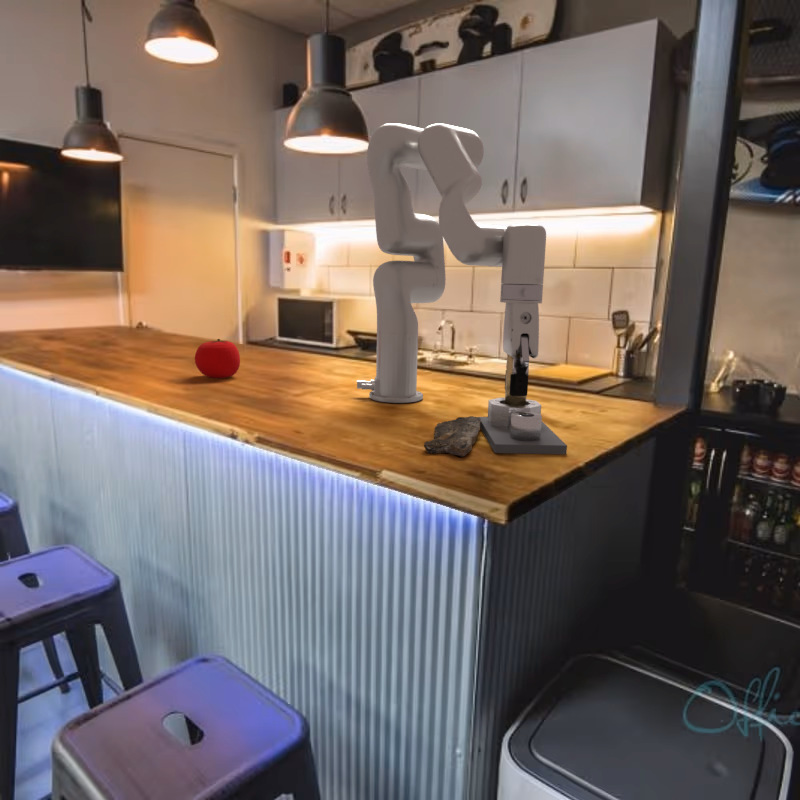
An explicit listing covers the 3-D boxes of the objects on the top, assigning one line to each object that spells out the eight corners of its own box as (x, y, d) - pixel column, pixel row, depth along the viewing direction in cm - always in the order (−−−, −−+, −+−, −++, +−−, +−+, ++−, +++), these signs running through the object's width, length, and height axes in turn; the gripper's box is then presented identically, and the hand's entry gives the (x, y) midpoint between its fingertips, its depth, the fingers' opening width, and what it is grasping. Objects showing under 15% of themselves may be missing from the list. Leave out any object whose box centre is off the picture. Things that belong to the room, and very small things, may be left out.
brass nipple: (528, 406, 115) (531, 352, 113) (506, 406, 115) (509, 352, 113) (523, 402, 119) (526, 349, 117) (502, 402, 119) (505, 349, 117)
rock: (442, 424, 121) (442, 411, 121) (482, 427, 120) (483, 414, 119) (423, 457, 101) (423, 442, 101) (470, 462, 100) (471, 446, 99)
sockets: (501, 440, 105) (502, 417, 104) (485, 417, 122) (486, 396, 121) (555, 441, 105) (557, 418, 104) (532, 417, 122) (533, 397, 121)
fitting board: (494, 453, 103) (495, 444, 102) (477, 424, 122) (478, 416, 122) (566, 454, 103) (567, 445, 103) (538, 425, 123) (538, 417, 122)
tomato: (234, 381, 162) (232, 341, 160) (189, 380, 162) (188, 340, 160) (245, 374, 174) (244, 337, 172) (204, 373, 174) (203, 336, 172)
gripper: (553, 296, 105) (546, 402, 108) (531, 293, 121) (525, 385, 125) (509, 295, 104) (503, 401, 108) (493, 293, 121) (488, 385, 124)
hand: (515, 392), depth 116 cm, fingers closed on brass nipple, 4 cm apart
